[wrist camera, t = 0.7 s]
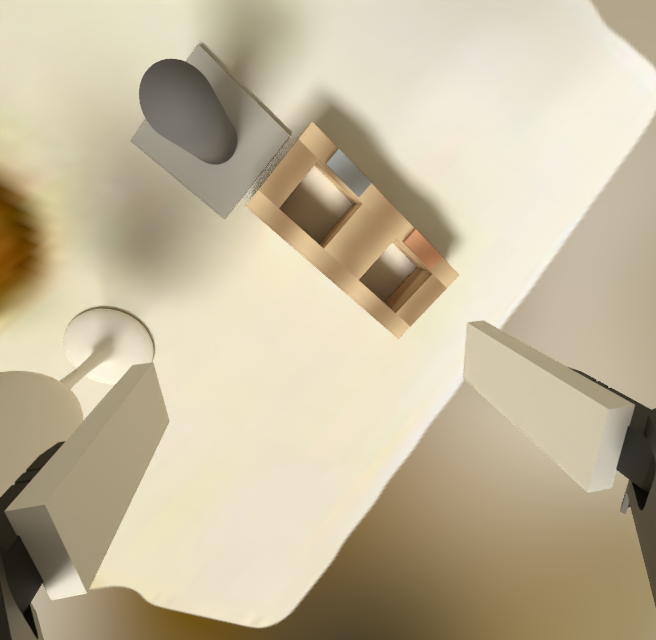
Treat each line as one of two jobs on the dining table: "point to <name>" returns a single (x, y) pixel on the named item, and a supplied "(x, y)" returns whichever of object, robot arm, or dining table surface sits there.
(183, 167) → the pad
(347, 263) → the socket block
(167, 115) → the plug
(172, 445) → the dining table surface
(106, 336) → the wineglass
